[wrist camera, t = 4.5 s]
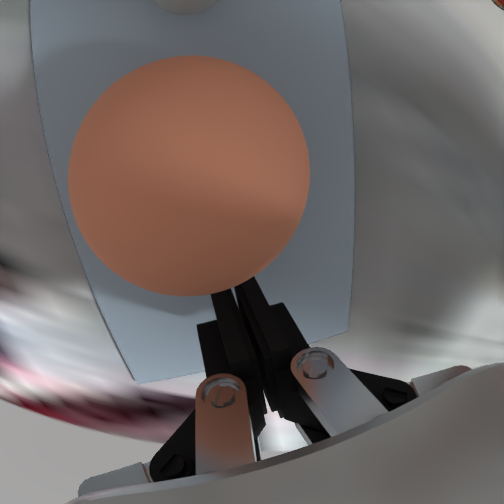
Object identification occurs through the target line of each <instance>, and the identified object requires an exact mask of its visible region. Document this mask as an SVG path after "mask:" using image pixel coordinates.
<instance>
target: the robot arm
mask: <svg viewBox="0 0 504 504" xmlns="http://www.w3.org/2000/svg"><path fill="white" fill-rule="evenodd" d="M234 289H235V294H236V299H237V303H236V301H235V298H234V295H233V293H232V290H231V288H230V289H227V290H224V291H221V292H217V293H213V294H210V295H211V299H212V303H213V307H214V311H215V315H216V319H217V320H213V321H209V322H205V323H200V324H196V326H197V332H198V337H199V342H200V348H201V353H202V358H203V363H204V367H205V372H206V377H207V379H205V380H204V381H203V382H202V383H201V384H200V385H199V387H198V388H197V392H196V408H195V410H194V411H193V412H192V413H191V414H190V415H189V417H188V418H187V419H186V420H185V421H184V422H183V423H182V425H181V426H180V427H179V428H178V429H177V430H176V432H175V433H174V434H173V435H172V436H171V437H170V438H169V440H168V441H167V442H166V443H165V444H164V445H163V446H162V447H161V449H160V450H159V451H158V452H157V453H156V454H155V456H154V457H153V458H152V460H151V461H150V462H148V463H145V464H142V463H141V462H139V463H136V464H133V465H130V466H127V467H124V468H121V469H118V470H114V471H111V472H108V473H104V474H101V475H97V476H94V477H90V478H88V479H87V480H84V481H83V482H82V484H81V485H80V487H79V490H78V497H77V498H75V499H73V500H71V501H69V502H67V503H66V504H504V363H494V364H489V365H484V366H481V367H477V368H475V369H471V368H469V367H467V366H463V365H460V366H454V367H451V368H448V369H445V370H441V371H438V372H434V373H431V374H427V375H424V376H420V377H416V378H413V379H411V382H408V383H406V382H403V381H401V380H397V379H392V378H387V377H383V376H378V375H374V374H370V373H365V372H361V371H357V370H353V369H349V368H347V367H346V365H345V364H344V363H343V362H342V361H341V360H340V359H339V358H338V357H337V356H336V355H335V354H334V353H333V352H331V351H330V350H327V349H325V348H319V347H314V348H310V347H309V345H308V343H307V342H306V340H305V338H304V337H303V335H302V333H301V331H300V330H299V328H298V326H297V325H296V323H295V321H294V320H293V318H292V316H291V314H290V313H289V311H288V309H287V308H286V306H285V304H284V303H283V302H281V303H277V304H274V305H270V306H269V304H268V302H267V300H266V298H265V296H264V294H263V292H262V290H261V288H260V286H259V284H258V282H257V280H256V278H255V277H254V276H253V277H251V278H250V279H248V280H247V281H245V282H243V283H241V284H239V285H237V286H235V287H234ZM237 304H238V306H237ZM263 390H264V392H263ZM264 393H265V396H266V398H267V401H268V403H269V406H270V409H271V411H272V412H274V411H278V413H279V416H280V418H283V417H284V419H286V420H289V421H292V422H295V425H296V428H297V429H298V431H299V432H300V434H301V435H302V437H303V438H304V440H305V441H306V443H307V444H308V446H306V447H303V448H300V449H297V450H294V451H291V452H287V453H284V454H281V455H278V456H275V457H271V458H268V459H264V460H262V457H261V450H260V443H259V438H258V436H259V434H260V433H261V431H262V430H263V428H264V427H265V425H266V423H265V418H264V414H267V408H266V403H265V398H264Z"/></svg>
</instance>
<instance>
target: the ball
mask: <svg viewBox="0 0 504 504" xmlns="http://www.w3.org/2000/svg"><path fill="white" fill-rule="evenodd" d="M309 185H310V163H309V155H308V148H307V145H306V141H305V138H304V135H303V132H302V129H301V126H300V124H299V122H298V120H297V118H296V116H295V114H294V113H293V111H292V110H291V108H290V107H289V105H288V104H287V102H286V101H285V100H284V98H283V97H282V96H281V95H280V94H279V93H278V92H277V91H276V90H275V89H274V88H273V87H272V86H271V85H270V84H269V83H268V82H266V81H265V80H264V79H262V78H261V77H260V76H258V75H257V74H255V73H253V72H252V71H250V70H248V69H246V68H244V67H242V66H240V65H238V64H235V63H233V62H229V61H226V60H222V59H218V58H214V57H208V56H199V55H194V56H178V57H170V58H165V59H161V60H157V61H154V62H151V63H149V64H146V65H143V66H141V67H139V68H137V69H135V70H133V71H131V72H130V73H128V74H126V75H124V76H123V77H122V78H120V79H119V80H117V81H116V82H115V83H113V84H112V85H111V86H110V87H109V88H108V89H107V90H106V91H105V92H103V94H102V95H101V96H100V97H99V98H98V100H97V101H96V102H95V103H94V104H93V106H92V107H91V108H90V109H89V111H88V113H87V114H86V116H85V118H84V119H83V121H82V123H81V125H80V127H79V129H78V132H77V134H76V137H75V140H74V142H73V146H72V150H71V154H70V160H69V166H68V190H69V197H70V204H71V207H72V211H73V214H74V217H75V220H76V223H77V226H78V228H79V230H80V232H81V234H82V236H83V238H84V239H85V241H86V242H87V244H88V245H89V247H90V248H91V249H92V251H93V252H94V253H95V255H96V256H97V257H98V258H99V259H100V260H101V261H102V262H103V263H104V264H105V265H106V266H107V267H108V268H109V269H110V270H112V271H113V272H114V273H116V274H117V275H119V276H120V277H122V278H123V279H124V280H126V281H128V282H130V283H132V284H134V285H136V286H138V287H141V288H143V289H146V290H149V291H152V292H156V293H159V294H164V295H172V296H182V297H186V296H202V295H209V294H213V293H217V292H221V291H224V290H227V289H230V288H232V287H235V286H237V285H239V284H241V283H243V282H245V281H247V280H248V279H250V278H251V277H253V276H255V275H256V274H258V273H259V272H261V271H262V270H263V269H264V268H266V267H267V266H268V265H269V264H270V263H271V262H272V261H273V260H274V259H275V258H276V257H277V256H278V255H279V254H280V253H281V251H282V250H283V249H284V247H285V246H286V245H287V244H288V242H289V241H290V239H291V238H292V236H293V234H294V232H295V230H296V229H297V227H298V225H299V222H300V220H301V217H302V215H303V212H304V209H305V206H306V201H307V196H308V191H309Z"/></svg>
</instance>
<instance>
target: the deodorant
mask: <svg viewBox="0 0 504 504" xmlns="http://www.w3.org/2000/svg"><path fill="white" fill-rule="evenodd" d="M492 1H493V2H494V3H495V4H496V5H497V6H498V7H499V8H501V9H502V10H504V0H492Z"/></svg>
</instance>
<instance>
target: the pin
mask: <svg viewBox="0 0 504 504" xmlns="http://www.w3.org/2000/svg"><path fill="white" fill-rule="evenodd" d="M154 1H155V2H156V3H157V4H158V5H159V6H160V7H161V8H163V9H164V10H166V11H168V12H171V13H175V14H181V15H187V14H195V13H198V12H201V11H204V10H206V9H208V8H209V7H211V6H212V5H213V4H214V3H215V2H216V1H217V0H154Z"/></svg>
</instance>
